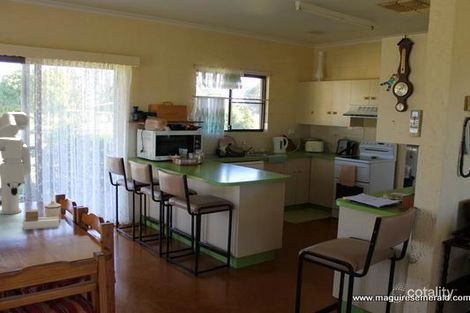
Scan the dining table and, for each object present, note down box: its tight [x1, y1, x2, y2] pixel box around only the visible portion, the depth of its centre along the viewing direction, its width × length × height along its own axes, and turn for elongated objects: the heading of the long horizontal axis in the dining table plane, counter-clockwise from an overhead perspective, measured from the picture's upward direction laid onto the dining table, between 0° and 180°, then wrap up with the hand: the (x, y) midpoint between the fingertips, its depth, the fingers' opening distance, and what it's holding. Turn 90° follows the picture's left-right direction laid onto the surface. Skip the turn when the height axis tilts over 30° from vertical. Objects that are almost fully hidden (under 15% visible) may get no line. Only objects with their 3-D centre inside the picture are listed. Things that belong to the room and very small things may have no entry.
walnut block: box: [25, 208, 39, 222], centre depth 234 cm, size 5×6×8 cm
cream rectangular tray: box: [22, 216, 60, 230], centre depth 236 cm, size 8×18×4 cm, turn 114°
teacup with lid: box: [44, 200, 62, 222], centre depth 250 cm, size 12×9×12 cm
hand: (14, 195), depth 229 cm, fingers closed
